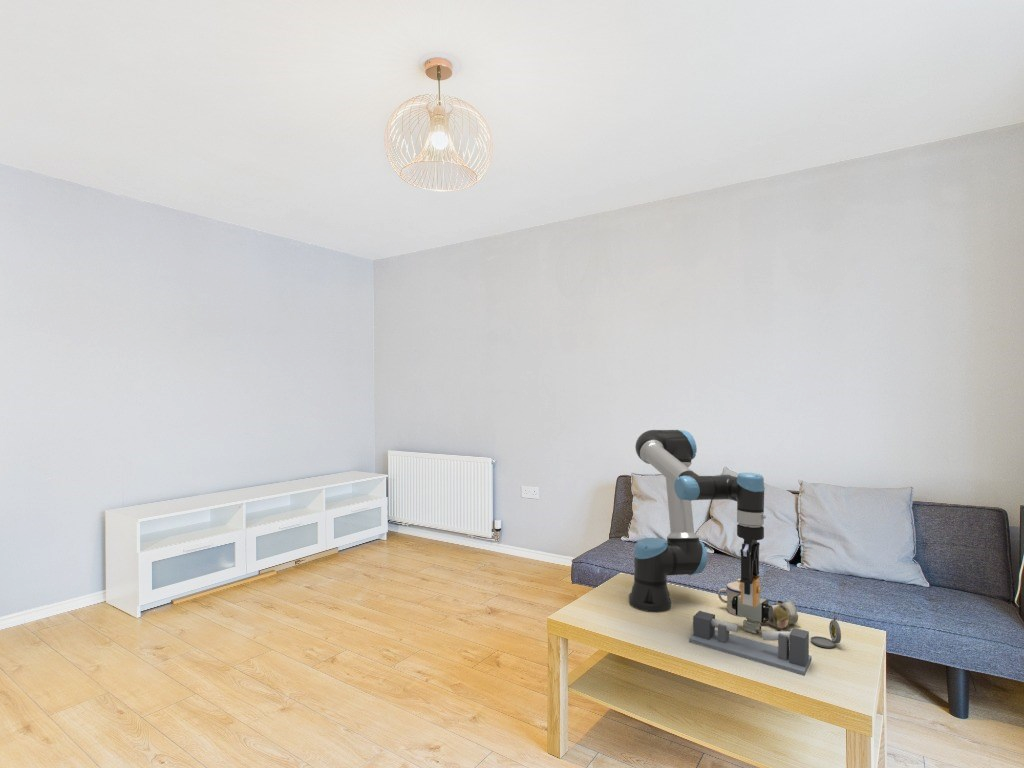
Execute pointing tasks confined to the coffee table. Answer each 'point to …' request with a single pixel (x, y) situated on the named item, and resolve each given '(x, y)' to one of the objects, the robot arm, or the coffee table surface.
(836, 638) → the pocket watch
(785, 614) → the ceramic sculpture
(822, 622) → the coffee table surface
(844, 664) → the coffee table surface
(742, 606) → the pneumatic valve
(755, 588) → the universal joint coupler
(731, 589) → the teacup with lid
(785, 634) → the shaft rig
